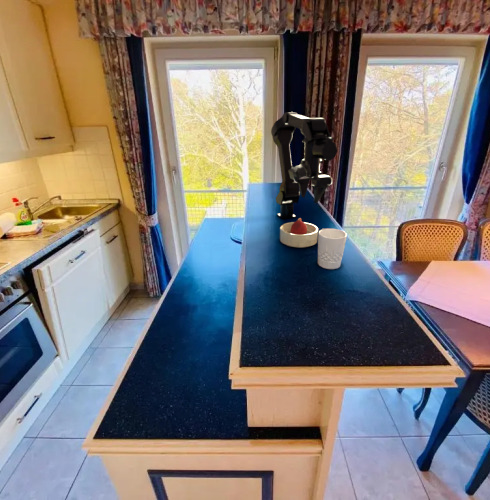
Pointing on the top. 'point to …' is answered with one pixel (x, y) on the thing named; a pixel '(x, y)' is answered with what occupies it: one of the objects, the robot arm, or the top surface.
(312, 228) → the bowl
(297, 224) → the onion
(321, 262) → the white cup
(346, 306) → the top surface
